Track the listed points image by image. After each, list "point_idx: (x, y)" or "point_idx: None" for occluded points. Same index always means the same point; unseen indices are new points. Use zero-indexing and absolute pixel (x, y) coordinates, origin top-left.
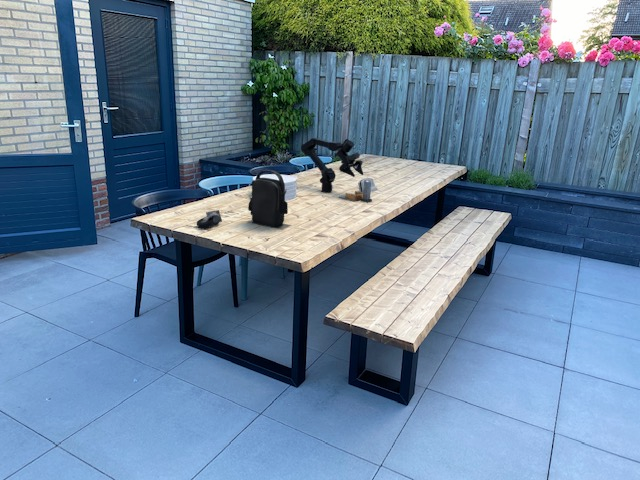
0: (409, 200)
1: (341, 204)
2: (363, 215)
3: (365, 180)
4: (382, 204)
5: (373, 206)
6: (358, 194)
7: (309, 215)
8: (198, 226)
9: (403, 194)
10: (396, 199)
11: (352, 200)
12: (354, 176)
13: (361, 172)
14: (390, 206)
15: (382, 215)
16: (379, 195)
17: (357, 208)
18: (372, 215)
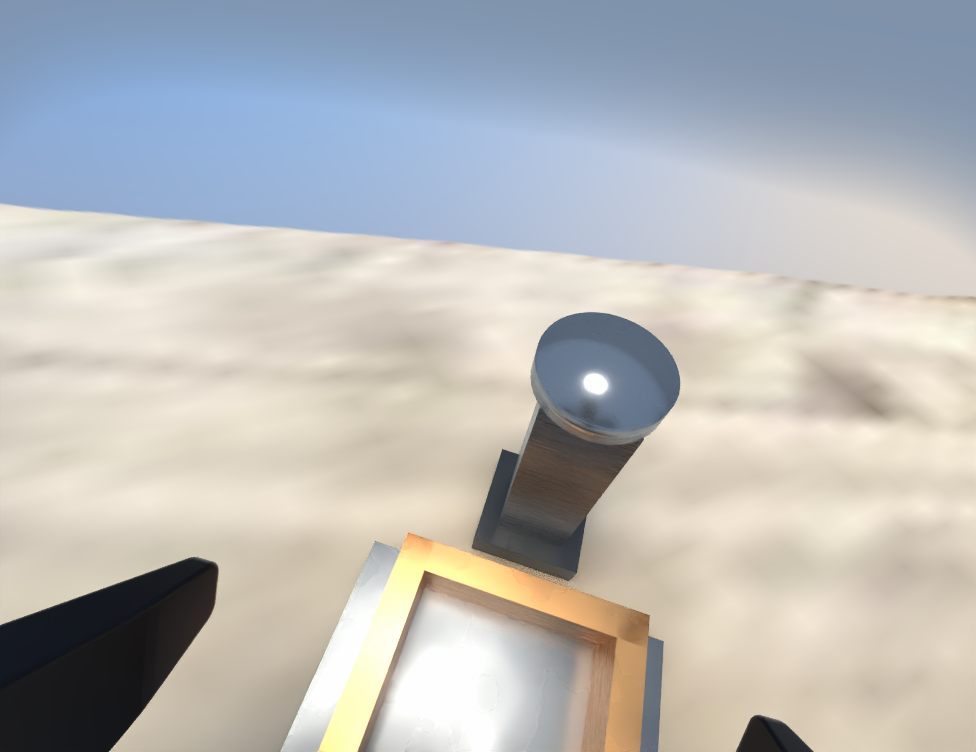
0: (283, 229)
1: (922, 748)
2: (956, 380)
3: (603, 408)
4: None
5: None
6: (376, 711)
7: None
8: None
9: (16, 291)
10: (287, 302)
11: (660, 683)
12: (754, 736)
13: (128, 656)
14: (566, 295)
15: (823, 289)
16: (132, 480)
17: (858, 489)
18: (889, 334)
